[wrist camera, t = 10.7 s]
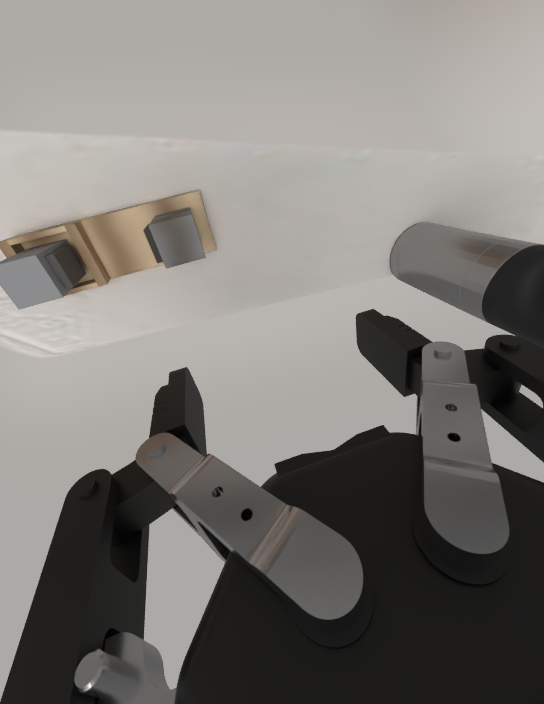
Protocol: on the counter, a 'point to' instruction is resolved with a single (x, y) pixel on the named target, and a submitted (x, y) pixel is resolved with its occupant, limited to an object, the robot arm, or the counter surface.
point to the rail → (129, 239)
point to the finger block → (40, 273)
